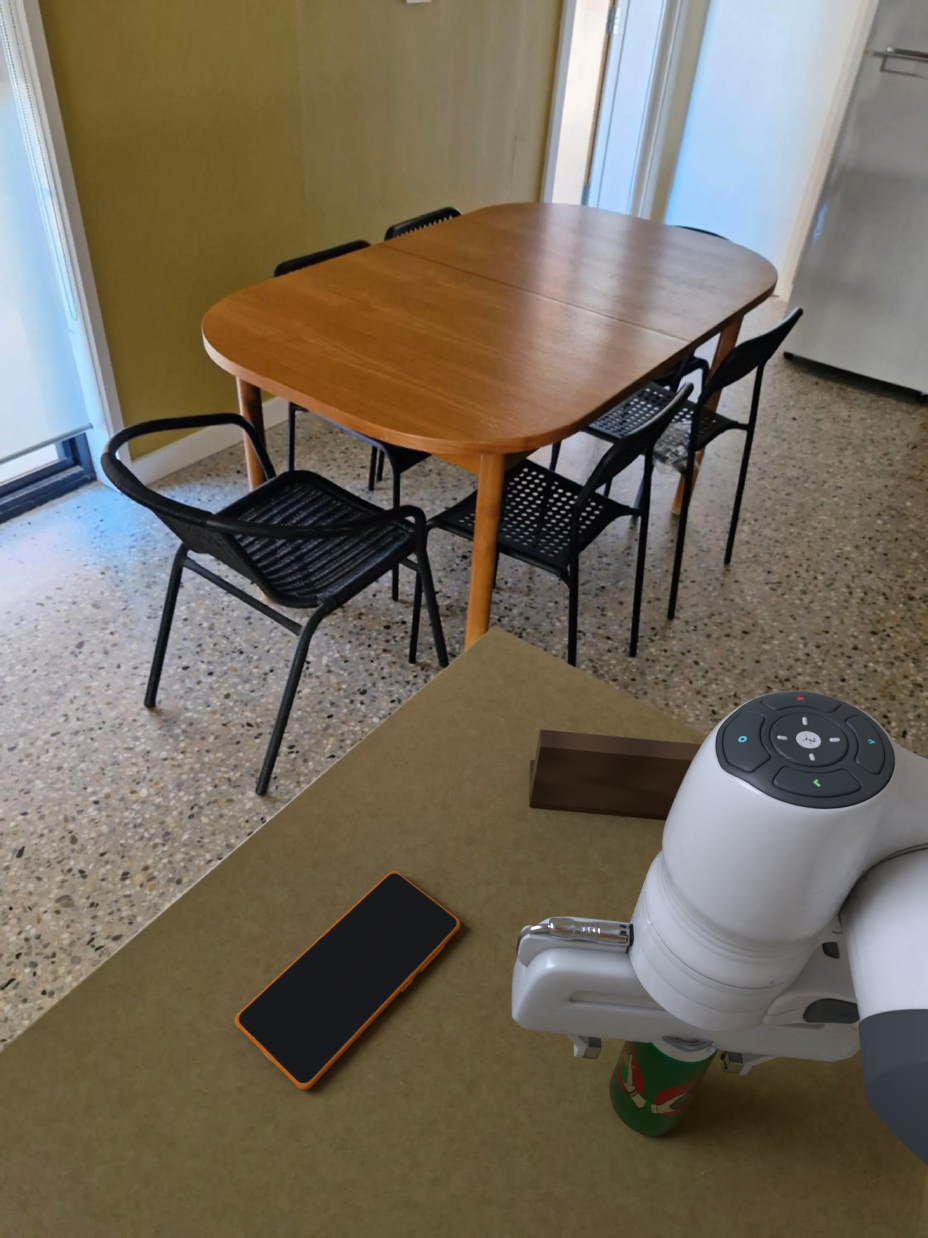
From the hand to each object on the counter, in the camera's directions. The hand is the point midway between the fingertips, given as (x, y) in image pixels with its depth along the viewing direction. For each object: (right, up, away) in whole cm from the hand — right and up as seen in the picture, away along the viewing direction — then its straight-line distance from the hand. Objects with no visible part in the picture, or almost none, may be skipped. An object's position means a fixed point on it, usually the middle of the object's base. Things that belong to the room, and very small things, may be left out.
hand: (658, 1055), depth 57 cm
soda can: (0, -5, +4) cm, 6 cm away
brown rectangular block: (+1, +12, +24) cm, 27 cm away
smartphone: (-21, +1, +9) cm, 23 cm away
